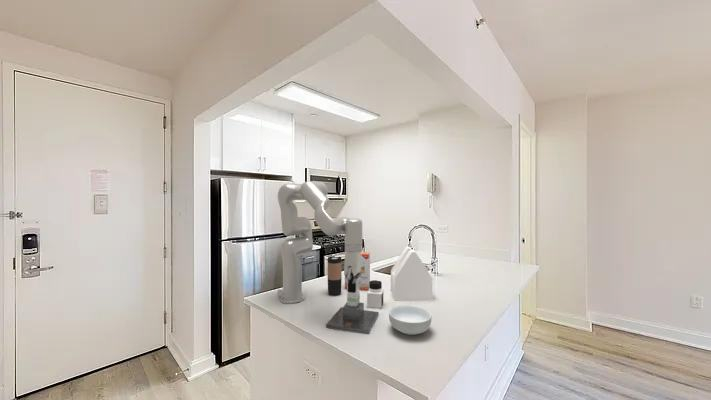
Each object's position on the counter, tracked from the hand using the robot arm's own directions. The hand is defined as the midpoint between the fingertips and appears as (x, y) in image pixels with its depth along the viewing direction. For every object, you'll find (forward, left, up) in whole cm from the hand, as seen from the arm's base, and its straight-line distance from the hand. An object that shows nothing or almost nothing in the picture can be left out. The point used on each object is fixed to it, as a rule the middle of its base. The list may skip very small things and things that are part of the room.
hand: (353, 289), depth 120 cm
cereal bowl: (+24, -1, -14) cm, 28 cm away
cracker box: (-10, +41, -14) cm, 45 cm away
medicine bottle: (+5, +20, -14) cm, 25 cm away
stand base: (0, 0, -14) cm, 14 cm away
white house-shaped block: (+20, +39, -14) cm, 46 cm away
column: (0, 0, -7) cm, 7 cm away
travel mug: (-20, +29, -14) cm, 38 cm away
